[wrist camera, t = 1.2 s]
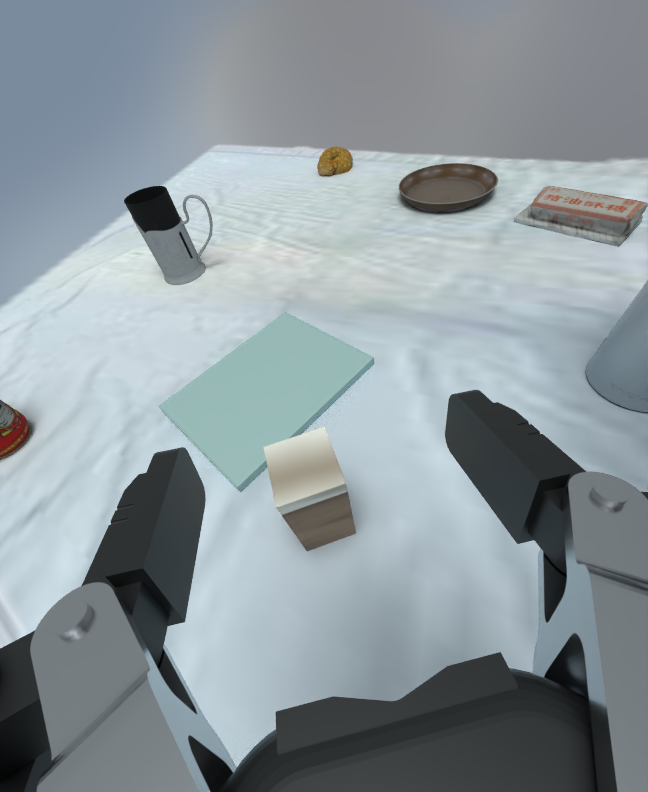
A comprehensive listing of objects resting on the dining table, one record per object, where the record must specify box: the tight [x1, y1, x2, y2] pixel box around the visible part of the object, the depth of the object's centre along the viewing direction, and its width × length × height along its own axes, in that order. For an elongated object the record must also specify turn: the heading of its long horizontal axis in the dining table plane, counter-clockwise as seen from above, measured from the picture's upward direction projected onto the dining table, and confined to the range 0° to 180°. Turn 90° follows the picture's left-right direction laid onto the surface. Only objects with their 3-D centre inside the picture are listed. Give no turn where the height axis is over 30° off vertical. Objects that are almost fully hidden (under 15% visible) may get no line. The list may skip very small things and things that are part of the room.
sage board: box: [158, 312, 374, 492], centre depth 45 cm, size 24×18×1 cm
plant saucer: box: [399, 163, 498, 212], centre depth 73 cm, size 21×21×3 cm
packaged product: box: [514, 186, 648, 246], centre depth 59 cm, size 18×5×10 cm
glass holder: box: [124, 186, 212, 285], centre depth 63 cm, size 9×14×15 cm, turn 93°
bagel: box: [317, 147, 353, 176], centre depth 93 cm, size 10×11×5 cm
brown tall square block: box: [263, 427, 356, 551], centre depth 29 cm, size 5×5×12 cm
